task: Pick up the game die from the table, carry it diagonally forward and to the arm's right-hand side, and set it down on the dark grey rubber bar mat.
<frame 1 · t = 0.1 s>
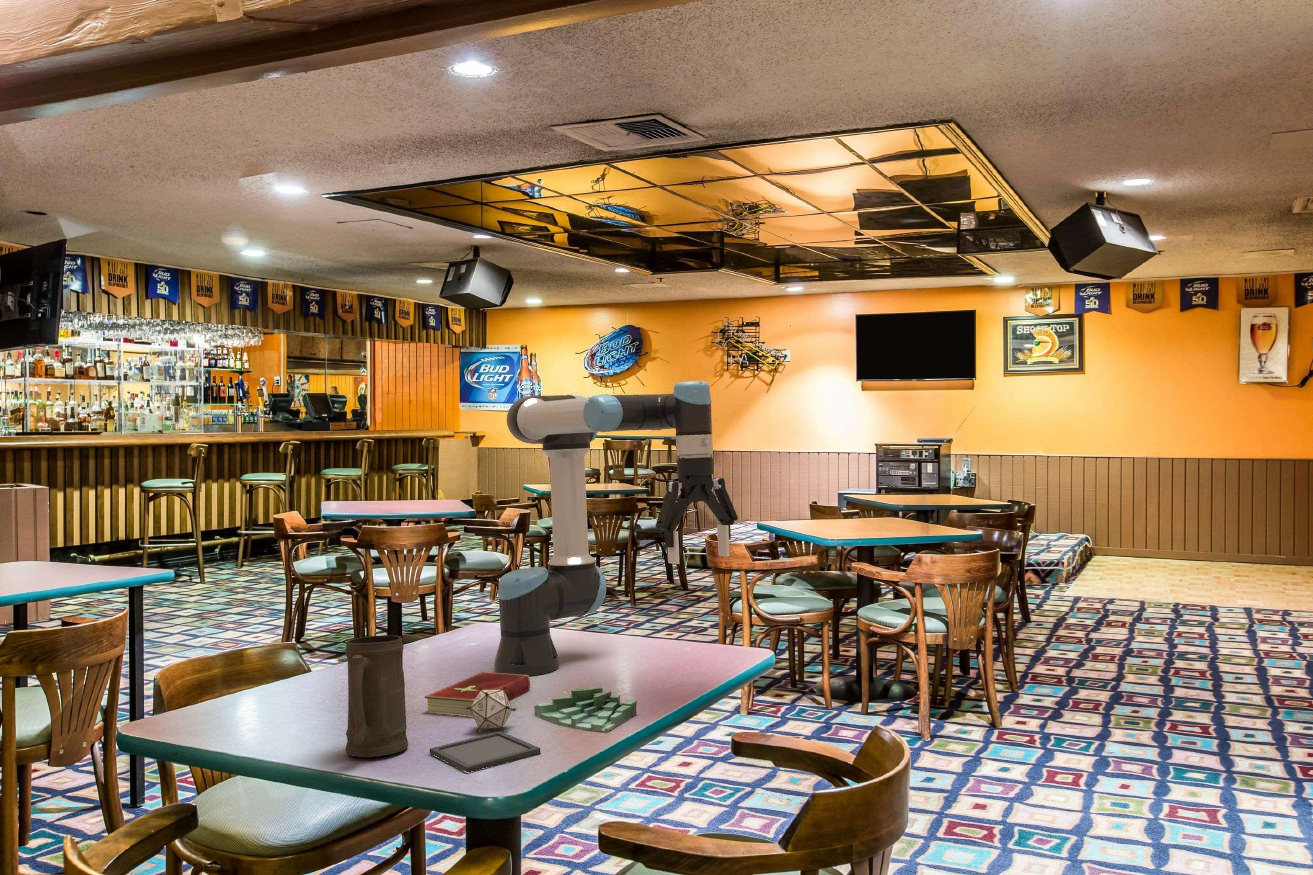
hand: (699, 559, 205), 28 cm above the table, tool pointing down, fingers open, 13 cm apart
game die: (492, 730, 187), on the table
green curved brick section: (582, 719, 194), on the table
beer stein: (375, 755, 175), on the table
hardcover book: (479, 704, 208), on the table
bar mat: (484, 753, 173), on the table
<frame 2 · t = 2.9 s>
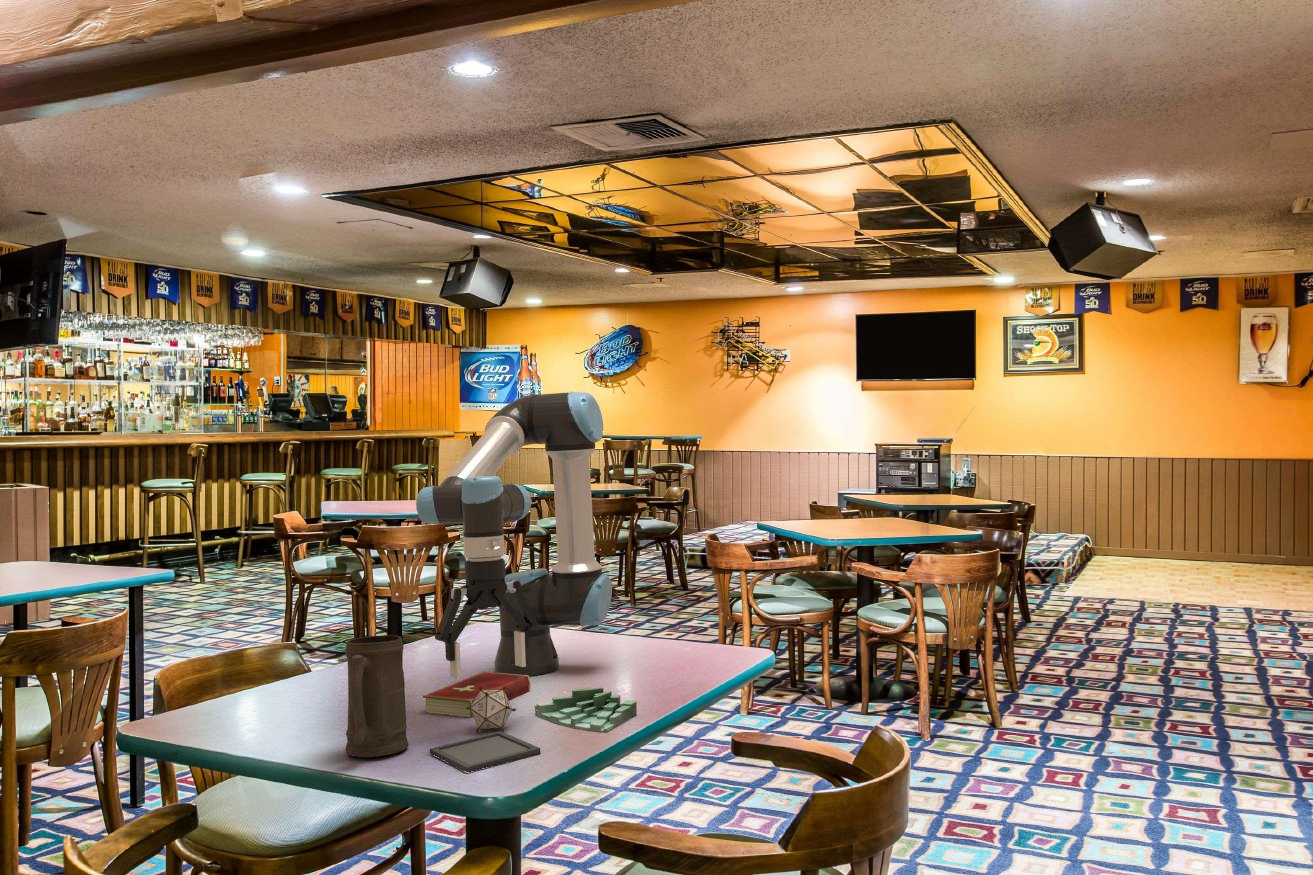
hand: (488, 671, 187), 11 cm above the table, tool pointing down, fingers open, 13 cm apart
nothing on the table moved.
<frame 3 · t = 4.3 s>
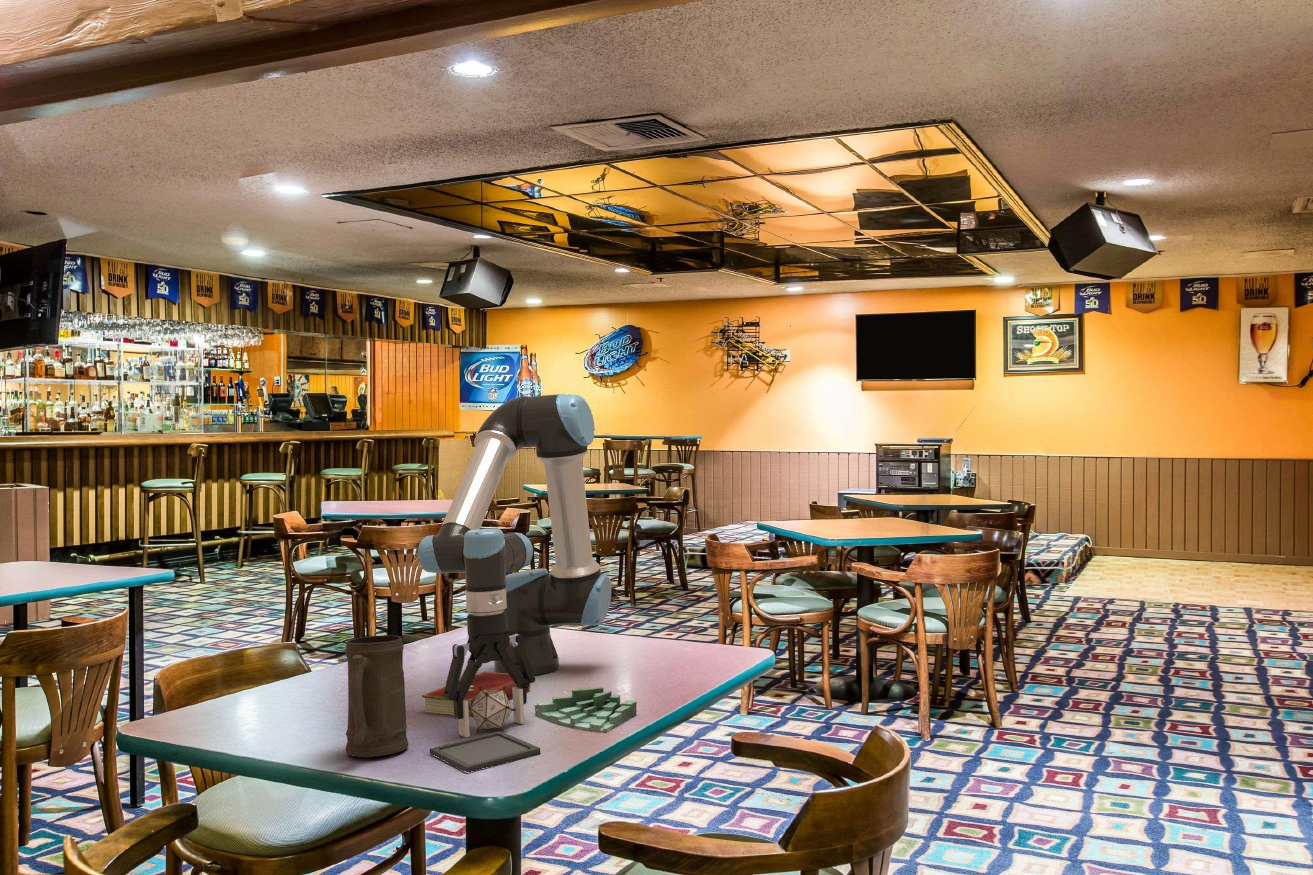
hand: (492, 728, 187), 0 cm above the table, tool pointing down, fingers open, 11 cm apart
nothing on the table moved.
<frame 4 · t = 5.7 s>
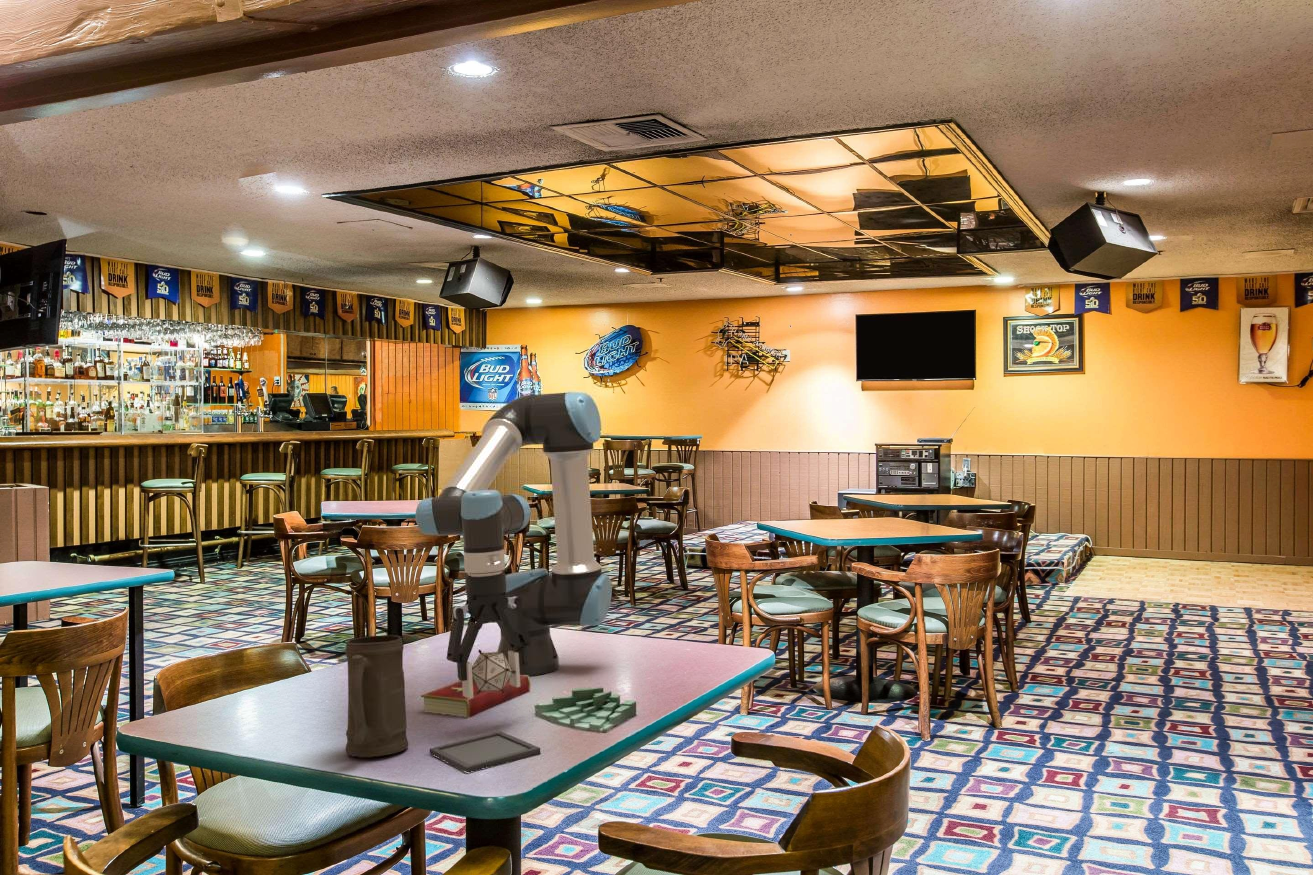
hand: (492, 691, 188), 7 cm above the table, tool pointing down, fingers closed on game die, 9 cm apart
game die: (492, 693, 188), point 7 cm above the table, touching gripper
everything else where it was.
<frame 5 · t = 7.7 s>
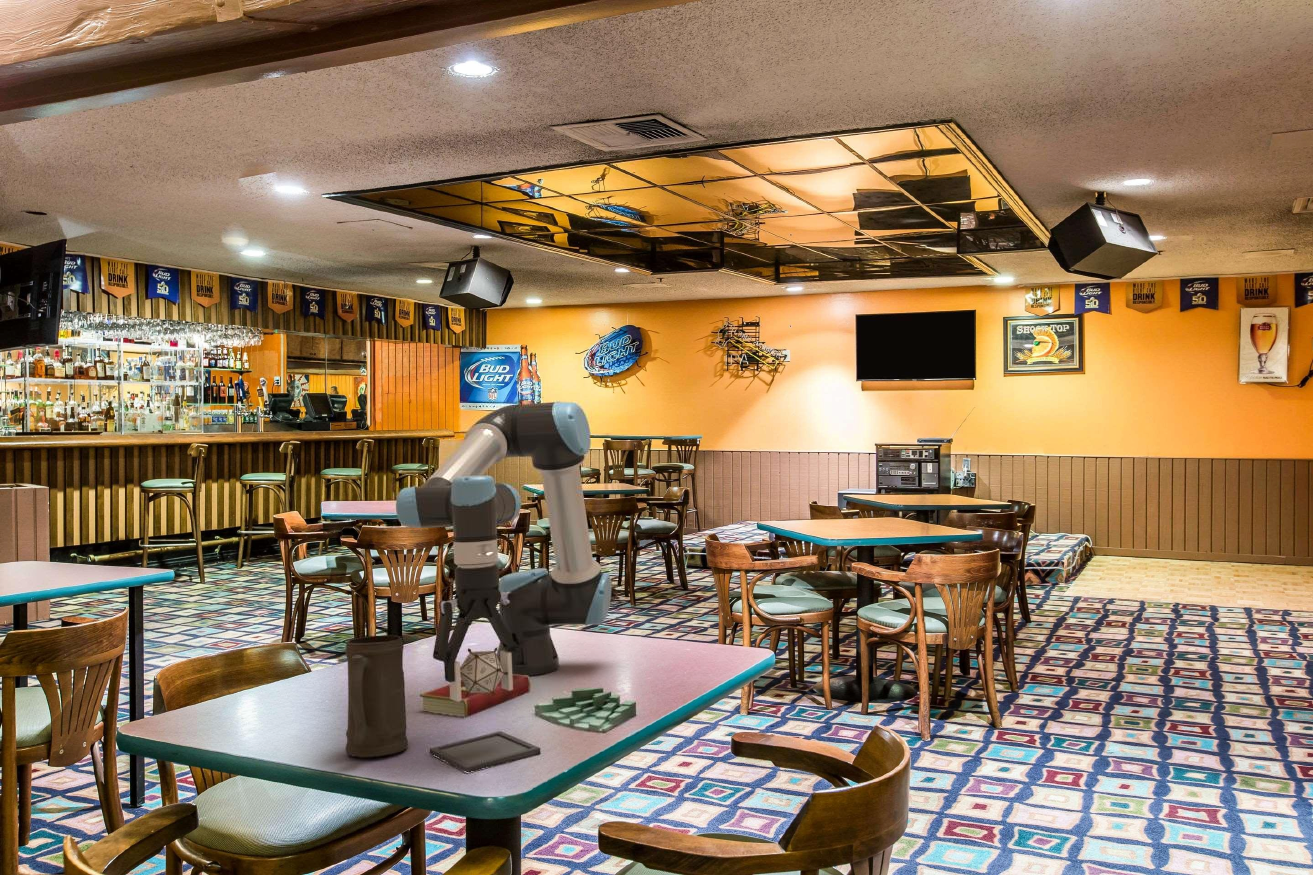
hand: (481, 694, 173), 10 cm above the table, tool pointing down, fingers closed on game die, 9 cm apart
game die: (482, 696, 173), point 10 cm above the table, touching gripper
everything else where it was.
when the fingers open (2 cm above the table, at t = 10.0 s): game die drops 1 cm, resting on bar mat.
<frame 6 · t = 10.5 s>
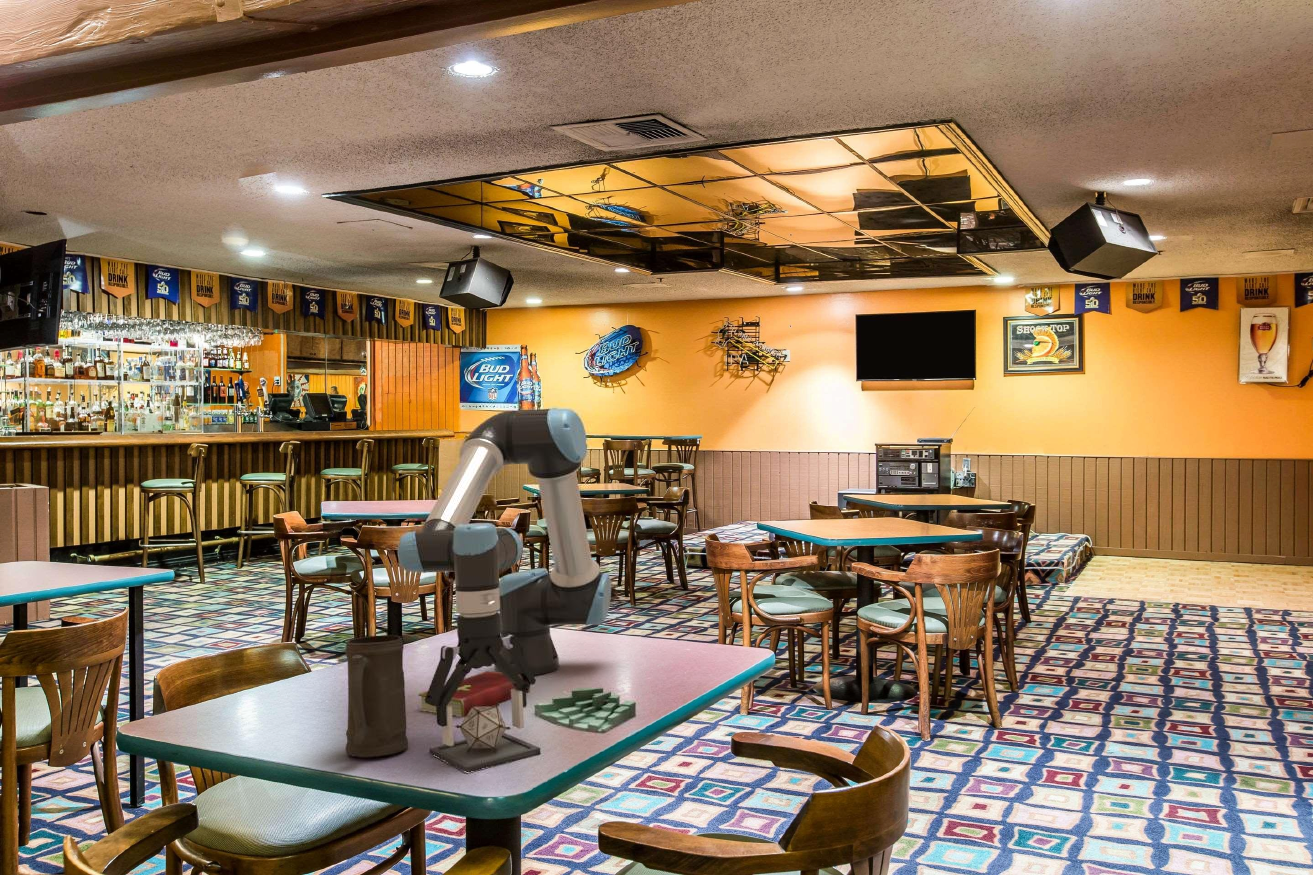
hand: (483, 735, 173), 3 cm above the table, tool pointing down, fingers open, 13 cm apart
game die: (484, 751, 173), resting on bar mat
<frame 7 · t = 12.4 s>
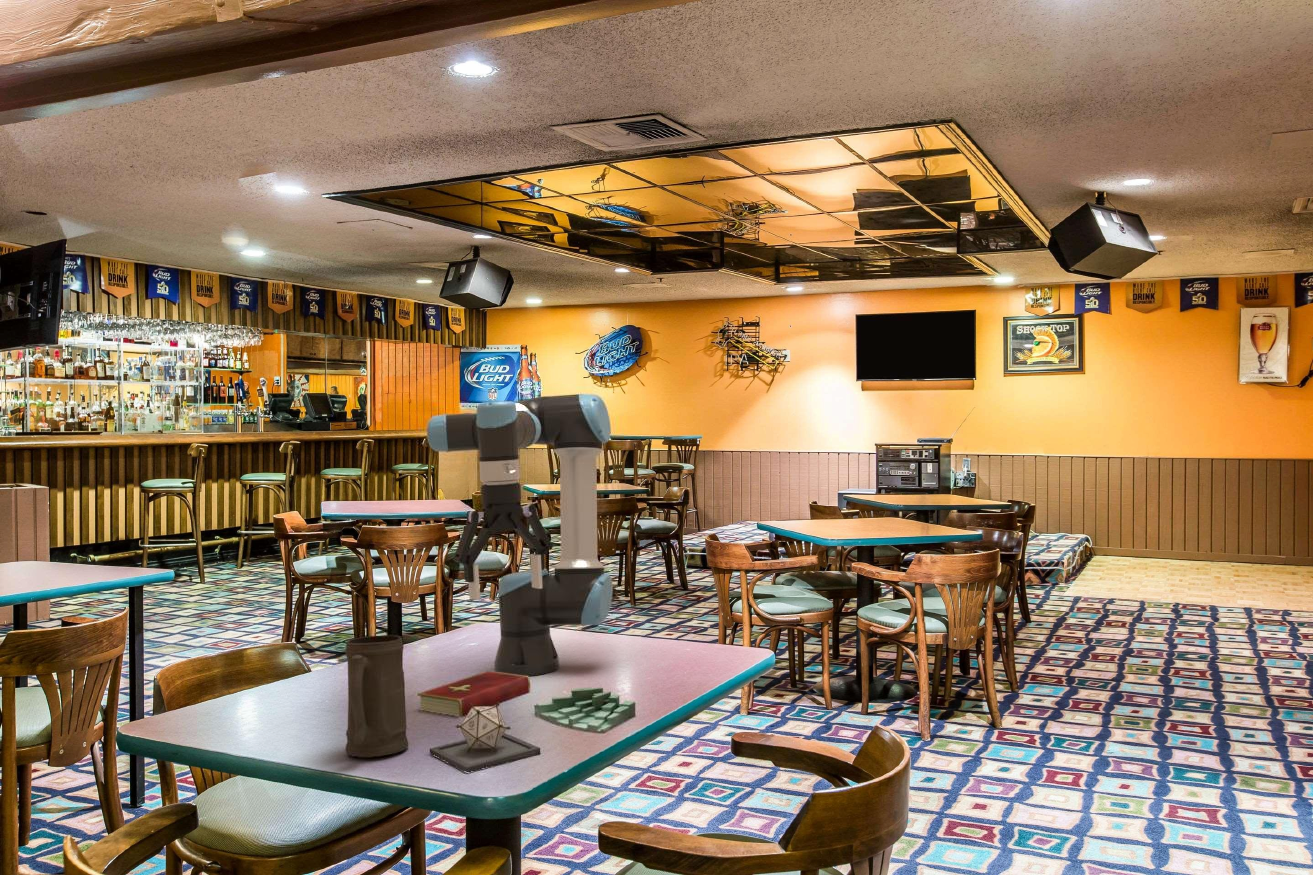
hand: (506, 593, 190), 25 cm above the table, tool pointing down, fingers open, 13 cm apart
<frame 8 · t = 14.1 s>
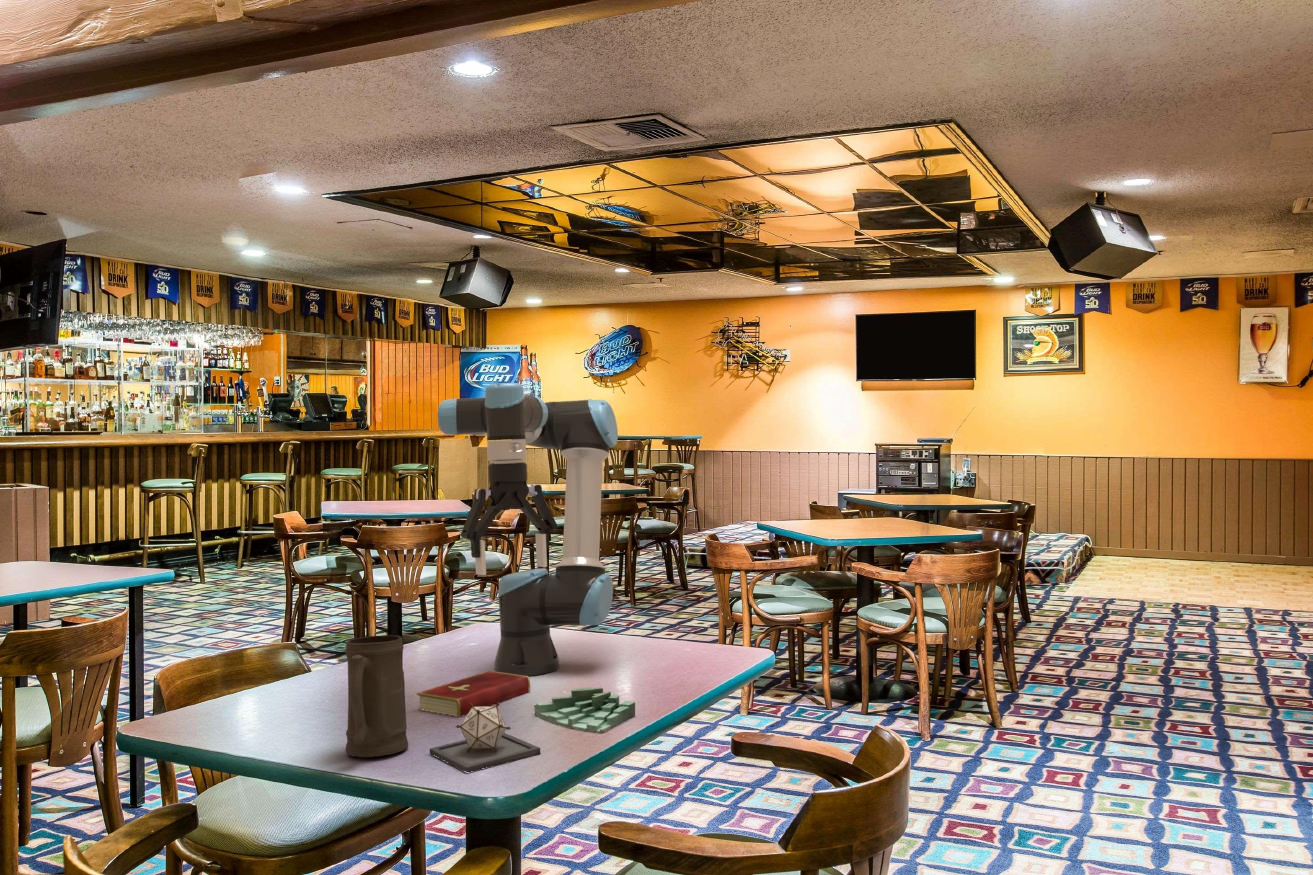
hand: (512, 570, 195), 29 cm above the table, tool pointing down, fingers open, 13 cm apart
at the end: game die inside the target area on the bar mat (0.2 cm from its centre), point 0.4 cm above the bar mat's base; the gripper is holding nothing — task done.
